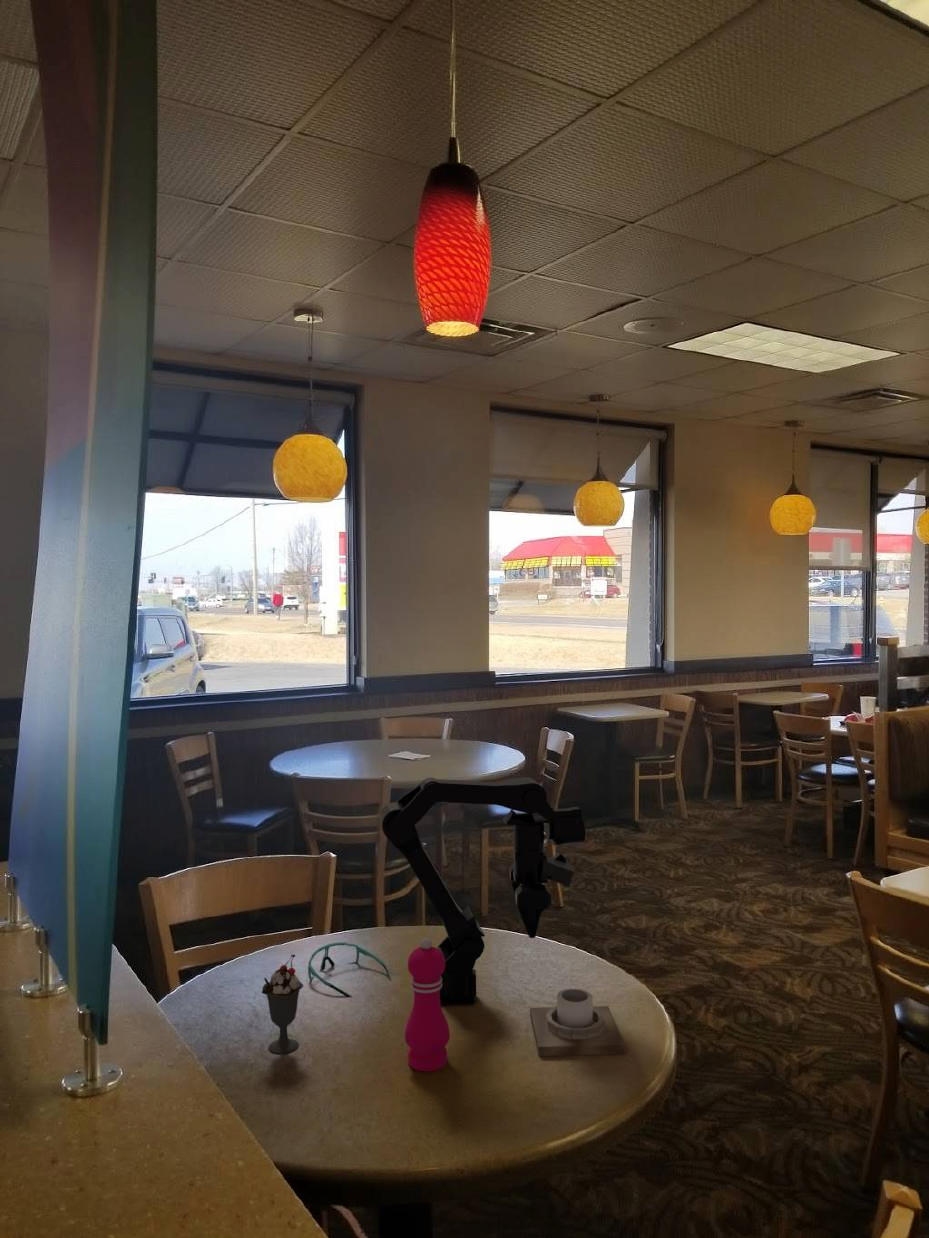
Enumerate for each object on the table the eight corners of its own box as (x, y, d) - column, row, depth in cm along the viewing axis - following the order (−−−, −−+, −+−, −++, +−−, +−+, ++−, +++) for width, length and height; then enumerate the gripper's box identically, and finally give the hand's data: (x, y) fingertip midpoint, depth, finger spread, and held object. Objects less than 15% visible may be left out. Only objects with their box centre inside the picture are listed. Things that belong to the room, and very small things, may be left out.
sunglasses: (351, 958, 187) (352, 934, 187) (399, 985, 177) (400, 961, 177) (295, 978, 177) (296, 954, 177) (342, 1009, 167) (343, 984, 167)
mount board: (538, 1055, 146) (538, 1037, 146) (530, 1016, 160) (529, 999, 160) (624, 1053, 146) (624, 1035, 146) (608, 1014, 160) (608, 997, 160)
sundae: (311, 1040, 152) (310, 952, 152) (291, 1059, 146) (289, 967, 145) (277, 1034, 154) (275, 947, 154) (255, 1053, 148) (254, 962, 147)
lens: (559, 1034, 150) (559, 1003, 150) (555, 1017, 156) (555, 988, 156) (595, 1033, 150) (595, 1002, 150) (589, 1016, 156) (589, 987, 156)
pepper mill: (416, 1077, 140) (414, 950, 139) (397, 1057, 146) (396, 934, 146) (457, 1066, 143) (456, 941, 143) (437, 1046, 149) (436, 926, 149)
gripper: (579, 859, 160) (580, 946, 161) (564, 832, 179) (565, 910, 179) (516, 860, 160) (517, 947, 160) (508, 833, 179) (509, 911, 179)
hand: (529, 928), depth 170 cm, fingers open, 9 cm apart
